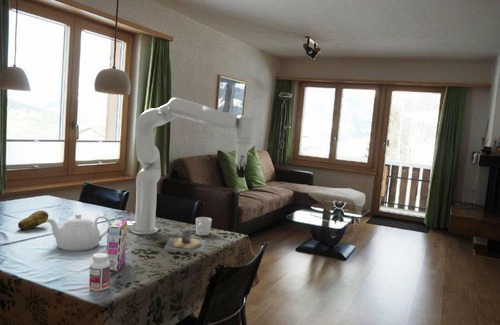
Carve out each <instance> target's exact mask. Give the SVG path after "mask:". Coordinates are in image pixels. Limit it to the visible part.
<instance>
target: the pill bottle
mask: <svg viewBox="0 0 500 325" xmlns="http://www.w3.org/2000/svg"><path fill="white" fill-rule="evenodd" d="M107 259H108V254H106V253H105V252H97V253H93V255H92V261H91V262H90V264H89V282H88V284H89V286H88V287H89V289H90V290H91V291H95V292H101V291H105V290H108V288H109V287H110V274H111V271H110V262H109V261H108V260H107Z"/></svg>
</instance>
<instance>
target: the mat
mask: <svg viewBox="0 0 500 325" xmlns="http://www.w3.org/2000/svg"><path fill="white" fill-rule="evenodd" d="M177 238H178V237H169V238H168V240H167V242H166V244H165V246H164V248H163V250H171V251H172V250H173V251H187V252H202V253H203V252H204V251H205V246H206V242H207V241H206V239H197V238H196V240H198V241H200V246H199V247H198V248H194V249H181V248H176V247H174V246H172V245H171V241H172V240H174V239H177Z"/></svg>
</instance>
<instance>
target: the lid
mask: <svg viewBox="0 0 500 325" xmlns="http://www.w3.org/2000/svg"><path fill="white" fill-rule="evenodd" d="M181 230H182V231H181V237H179V238H178V237H176V238H177V239H174V240H172V241H171V245H172V246H174V247H176V248H181V249H194V248H198V247H199V246H200V241H198V240H199V239H197V238H196V239H197V240H196V239H195V238H192V229H190V228H184V229H181Z"/></svg>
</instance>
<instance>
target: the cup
mask: <svg viewBox="0 0 500 325" xmlns="http://www.w3.org/2000/svg"><path fill="white" fill-rule="evenodd" d="M212 221H213V219H212V218H211V217H207V216H200V217H196V218H195V233H196V235H199V236H208V235H210V232H211V227H212Z"/></svg>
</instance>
